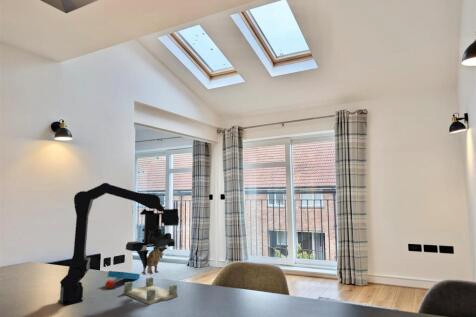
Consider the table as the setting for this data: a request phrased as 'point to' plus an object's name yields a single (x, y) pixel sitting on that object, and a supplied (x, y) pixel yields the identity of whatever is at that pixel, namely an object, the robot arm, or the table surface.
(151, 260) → the lion figurine
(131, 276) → the lever
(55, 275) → the table surface
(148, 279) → the cradle jig
